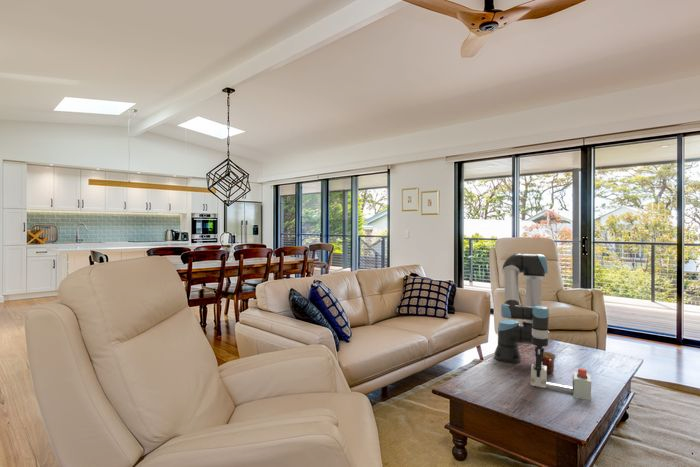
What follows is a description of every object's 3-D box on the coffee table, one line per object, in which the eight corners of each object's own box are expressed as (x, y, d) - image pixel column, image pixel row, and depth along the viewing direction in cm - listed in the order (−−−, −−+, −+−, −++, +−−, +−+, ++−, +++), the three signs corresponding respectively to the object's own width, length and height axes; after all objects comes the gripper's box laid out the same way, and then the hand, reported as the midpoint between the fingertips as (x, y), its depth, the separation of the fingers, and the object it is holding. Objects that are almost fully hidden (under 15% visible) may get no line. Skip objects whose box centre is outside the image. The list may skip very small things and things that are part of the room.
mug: (535, 369, 221) (536, 351, 220) (552, 370, 219) (552, 352, 218) (541, 377, 209) (542, 358, 208) (559, 379, 207) (559, 360, 207)
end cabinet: (572, 396, 186) (573, 378, 186) (572, 388, 195) (572, 371, 195) (590, 400, 183) (591, 381, 182) (589, 392, 192) (589, 374, 191)
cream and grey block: (530, 384, 196) (531, 367, 196) (531, 379, 203) (531, 362, 202) (545, 387, 193) (546, 369, 193) (546, 382, 199) (546, 365, 199)
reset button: (578, 376, 188) (578, 370, 188) (577, 373, 191) (577, 367, 191) (586, 377, 186) (586, 371, 186) (586, 375, 189) (586, 369, 189)
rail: (530, 385, 198) (530, 380, 198) (531, 383, 201) (531, 379, 200) (575, 394, 189) (575, 389, 189) (575, 392, 191) (575, 387, 191)
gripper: (547, 344, 184) (546, 388, 185) (548, 332, 206) (547, 371, 207) (530, 342, 188) (529, 385, 188) (533, 329, 210) (532, 368, 210)
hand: (538, 378), depth 198 cm, fingers open, 13 cm apart
